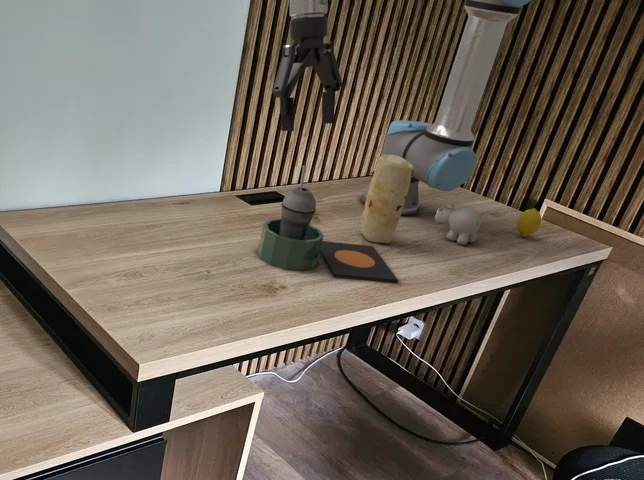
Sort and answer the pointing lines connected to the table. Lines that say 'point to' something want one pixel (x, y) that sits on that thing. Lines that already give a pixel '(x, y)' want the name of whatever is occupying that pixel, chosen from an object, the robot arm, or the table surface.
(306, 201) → the beverage cup
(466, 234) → the toy rhinoceros
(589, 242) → the table surface
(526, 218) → the lemon
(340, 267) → the mat
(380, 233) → the food model
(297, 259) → the pot
